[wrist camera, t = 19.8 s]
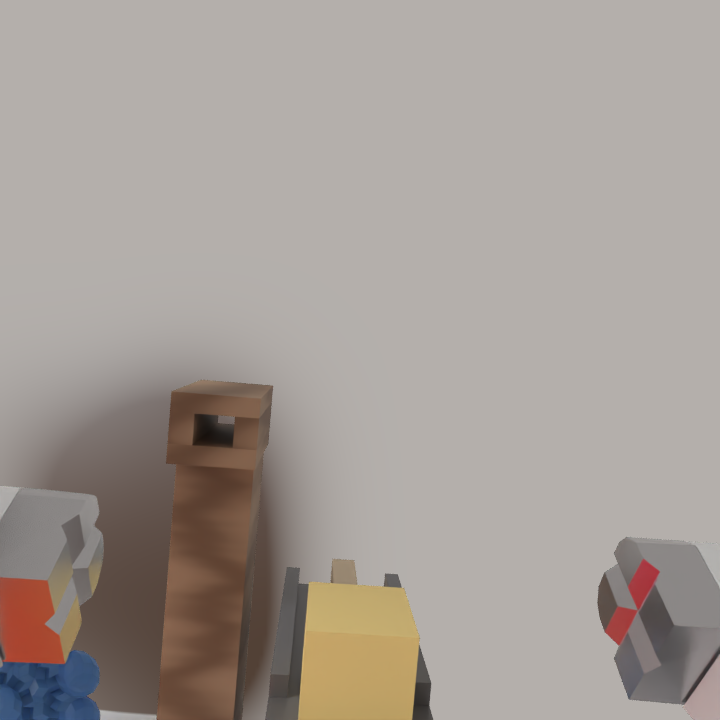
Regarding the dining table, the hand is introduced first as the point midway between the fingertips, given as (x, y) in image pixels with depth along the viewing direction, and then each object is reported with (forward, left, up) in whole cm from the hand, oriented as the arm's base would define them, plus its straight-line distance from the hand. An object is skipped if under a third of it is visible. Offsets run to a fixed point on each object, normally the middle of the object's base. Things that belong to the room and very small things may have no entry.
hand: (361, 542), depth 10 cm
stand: (-6, +27, -29) cm, 40 cm away
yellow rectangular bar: (+2, +23, -13) cm, 27 cm away
